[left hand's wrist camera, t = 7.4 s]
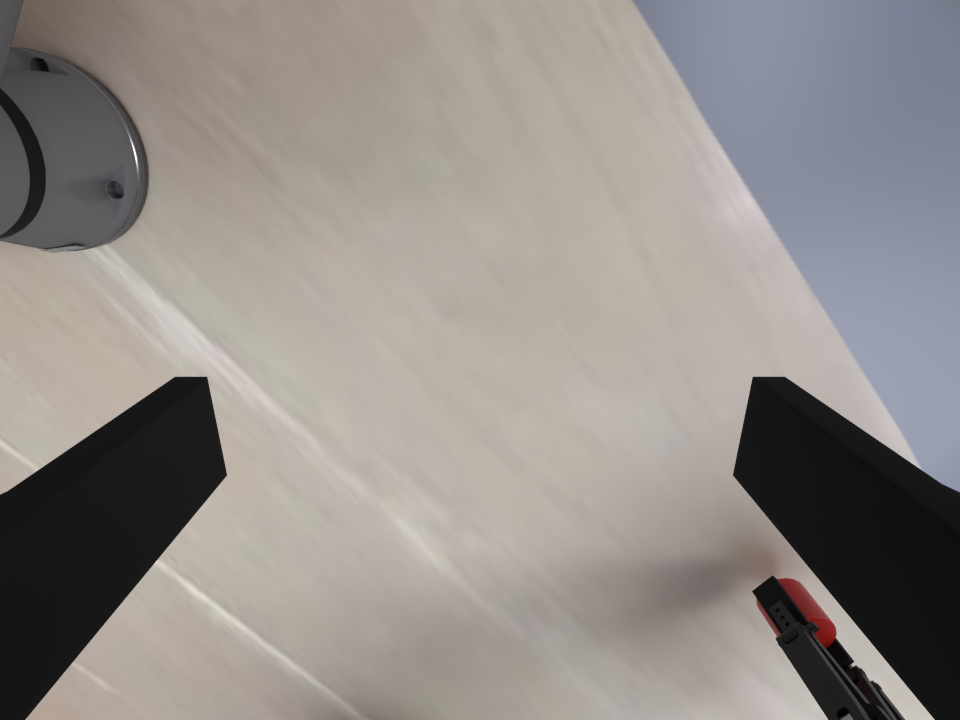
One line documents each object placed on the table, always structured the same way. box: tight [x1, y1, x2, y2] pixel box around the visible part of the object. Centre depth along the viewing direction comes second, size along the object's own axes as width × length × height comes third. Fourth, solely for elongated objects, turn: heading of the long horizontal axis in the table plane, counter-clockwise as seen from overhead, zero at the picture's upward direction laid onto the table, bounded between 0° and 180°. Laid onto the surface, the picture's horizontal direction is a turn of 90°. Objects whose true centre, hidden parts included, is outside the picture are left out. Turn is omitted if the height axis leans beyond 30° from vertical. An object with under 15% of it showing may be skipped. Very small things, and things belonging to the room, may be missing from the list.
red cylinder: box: [757, 578, 836, 649], centre depth 52 cm, size 5×5×5 cm
